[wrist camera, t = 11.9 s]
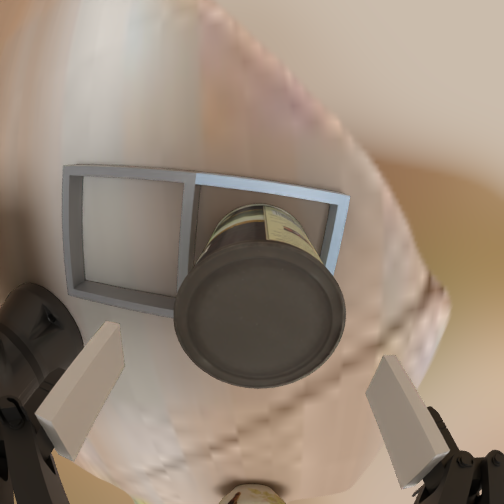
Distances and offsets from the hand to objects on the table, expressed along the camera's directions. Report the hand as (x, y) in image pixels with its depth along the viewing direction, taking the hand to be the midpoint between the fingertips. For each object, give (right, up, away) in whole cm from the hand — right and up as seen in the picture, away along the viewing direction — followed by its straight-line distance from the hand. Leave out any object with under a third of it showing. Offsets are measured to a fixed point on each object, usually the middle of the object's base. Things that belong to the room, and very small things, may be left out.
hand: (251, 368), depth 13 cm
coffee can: (+1, +5, +17) cm, 18 cm away
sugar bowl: (0, -46, +33) cm, 57 cm away
